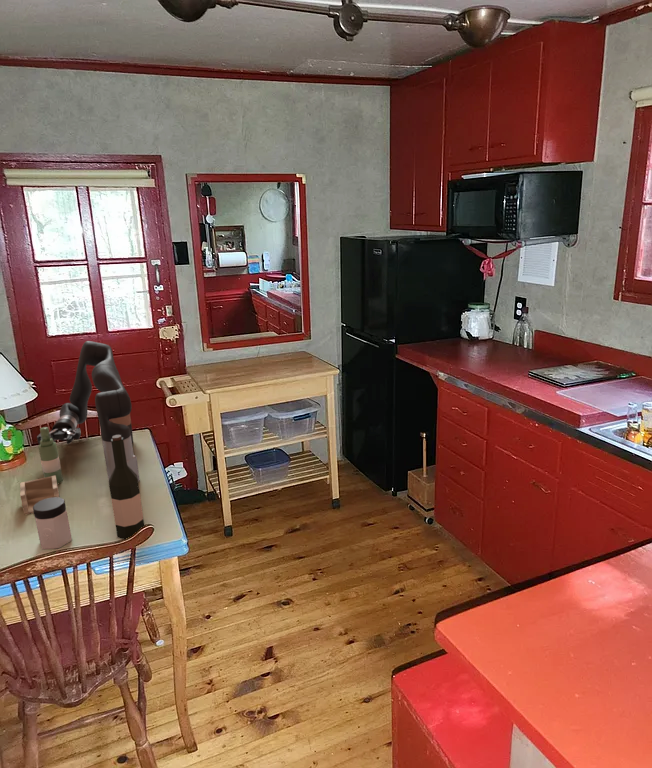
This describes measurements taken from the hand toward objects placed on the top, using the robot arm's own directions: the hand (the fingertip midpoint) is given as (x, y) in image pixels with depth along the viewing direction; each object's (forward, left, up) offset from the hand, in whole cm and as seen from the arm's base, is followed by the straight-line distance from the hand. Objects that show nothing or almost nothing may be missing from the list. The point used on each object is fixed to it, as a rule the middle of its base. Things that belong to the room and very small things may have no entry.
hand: (55, 442), depth 205 cm
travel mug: (-7, -27, -11) cm, 30 cm away
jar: (-33, +39, -11) cm, 53 cm away
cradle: (-12, +22, -11) cm, 27 cm away
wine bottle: (-51, +29, -11) cm, 60 cm away
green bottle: (-4, +8, -11) cm, 14 cm away
